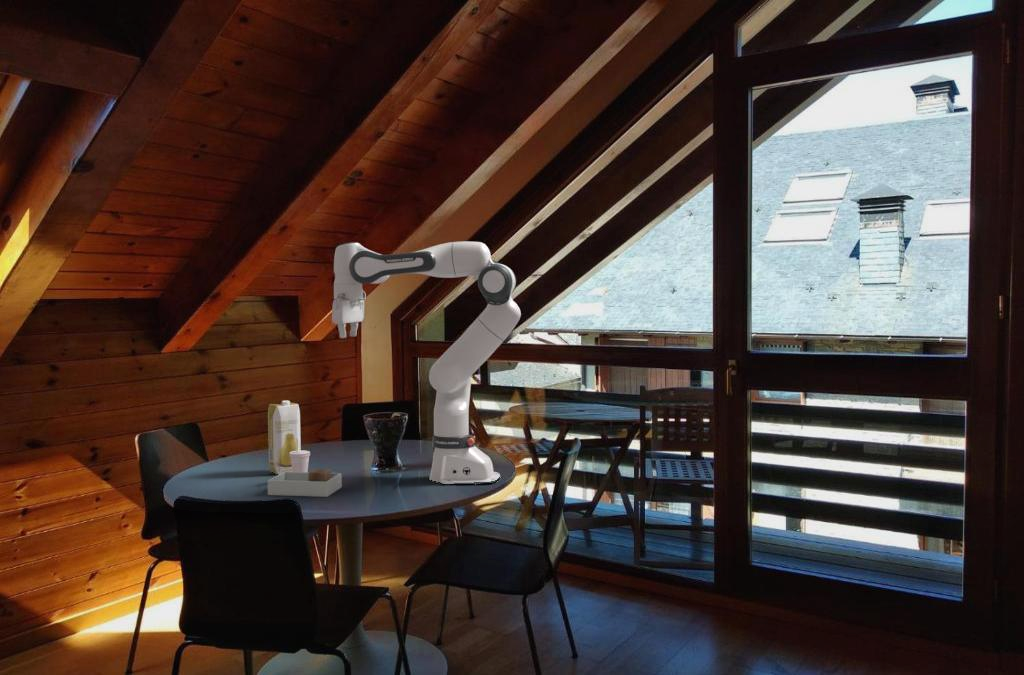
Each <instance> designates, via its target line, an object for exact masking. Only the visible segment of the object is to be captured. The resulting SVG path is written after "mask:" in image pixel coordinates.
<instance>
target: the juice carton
mask: <svg viewBox="0 0 1024 675" xmlns="http://www.w3.org/2000/svg"><path fill="white" fill-rule="evenodd" d="M299 406H300V405H299V404H298V403H295V402H291V401H290V400H281V403H278V404H277V403H270V404H269V405H268V412H267V431H268V432H267V435H268V436H267V438H268V465H269V470H270V472H271V473H272V472H273V473H272V474H274V473H275V475H277V474H278V475H279V474H281V473H283V472H292V465H291V458H290V456H289V453H290V452H292V451H297V438H298V439H299V450H301V449H302V448H301V447H302V446H301V439H302V438H301V410H300V407H299Z"/></svg>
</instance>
